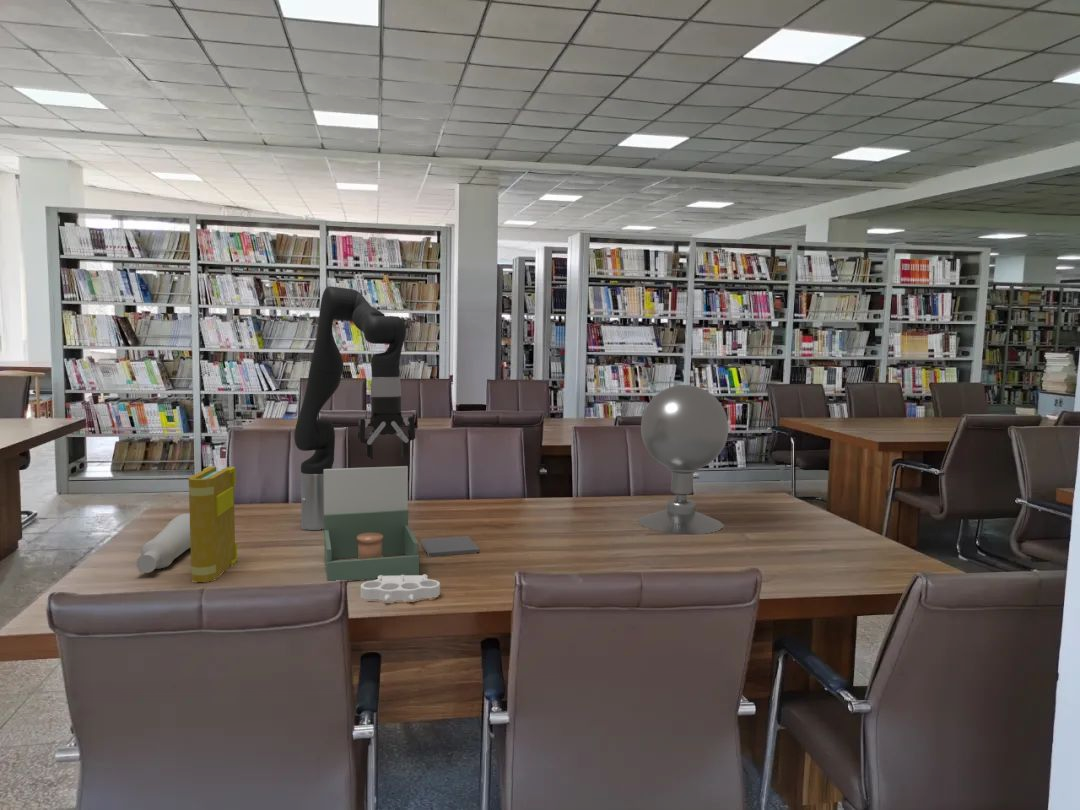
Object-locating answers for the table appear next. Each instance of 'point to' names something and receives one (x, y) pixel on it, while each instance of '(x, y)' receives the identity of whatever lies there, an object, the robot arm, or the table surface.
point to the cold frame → (367, 522)
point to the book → (212, 523)
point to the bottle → (166, 545)
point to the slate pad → (449, 545)
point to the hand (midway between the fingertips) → (387, 458)
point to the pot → (369, 545)
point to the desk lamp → (683, 452)
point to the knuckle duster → (400, 588)
